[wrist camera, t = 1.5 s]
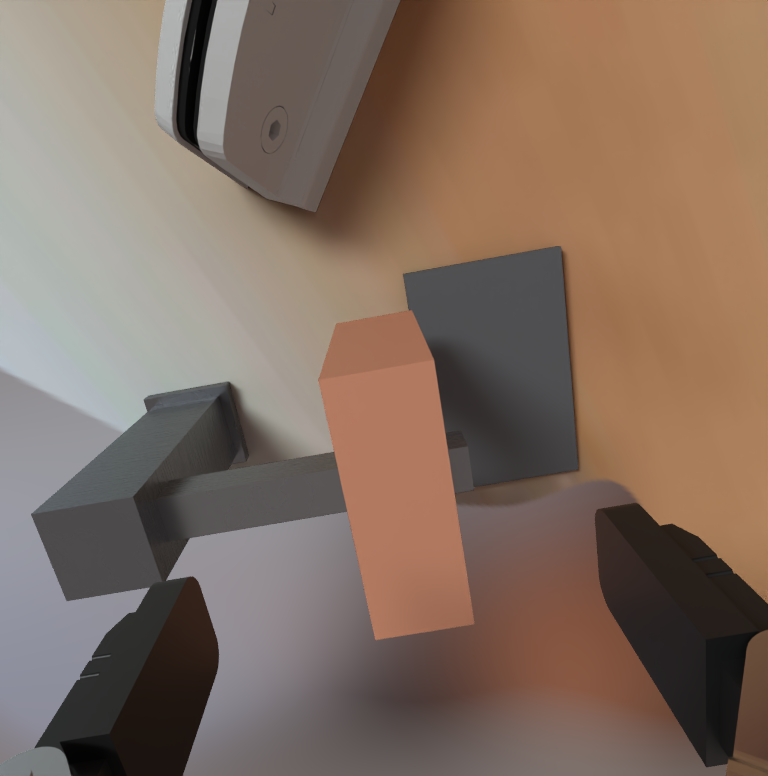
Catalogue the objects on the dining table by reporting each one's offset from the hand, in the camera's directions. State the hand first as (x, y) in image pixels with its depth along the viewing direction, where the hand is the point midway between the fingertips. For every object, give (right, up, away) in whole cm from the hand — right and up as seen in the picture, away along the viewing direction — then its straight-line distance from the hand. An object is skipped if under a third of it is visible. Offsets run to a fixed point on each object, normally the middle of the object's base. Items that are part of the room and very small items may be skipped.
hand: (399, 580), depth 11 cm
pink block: (0, +2, +20) cm, 20 cm away
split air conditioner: (-4, +22, +18) cm, 29 cm away
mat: (+6, +5, +23) cm, 24 cm away
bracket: (-6, +3, +23) cm, 24 cm away
